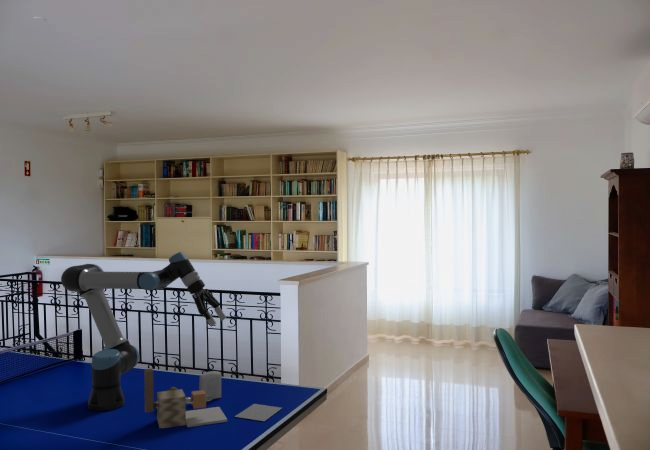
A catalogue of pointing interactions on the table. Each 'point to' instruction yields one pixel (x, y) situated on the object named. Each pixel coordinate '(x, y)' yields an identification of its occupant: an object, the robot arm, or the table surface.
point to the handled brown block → (149, 393)
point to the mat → (205, 417)
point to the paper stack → (258, 412)
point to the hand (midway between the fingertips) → (219, 322)
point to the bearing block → (171, 408)
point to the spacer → (199, 399)
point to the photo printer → (211, 384)
